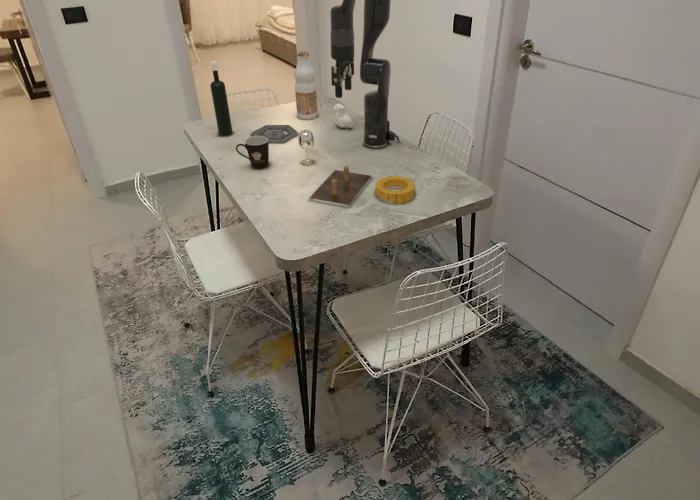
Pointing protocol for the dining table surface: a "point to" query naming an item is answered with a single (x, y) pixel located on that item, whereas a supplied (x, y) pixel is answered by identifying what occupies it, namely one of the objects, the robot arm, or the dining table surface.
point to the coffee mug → (257, 151)
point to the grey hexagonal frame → (276, 133)
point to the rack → (341, 187)
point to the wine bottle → (220, 103)
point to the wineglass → (306, 141)
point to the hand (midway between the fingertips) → (343, 93)
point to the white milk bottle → (305, 87)
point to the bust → (342, 117)
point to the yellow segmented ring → (391, 195)
